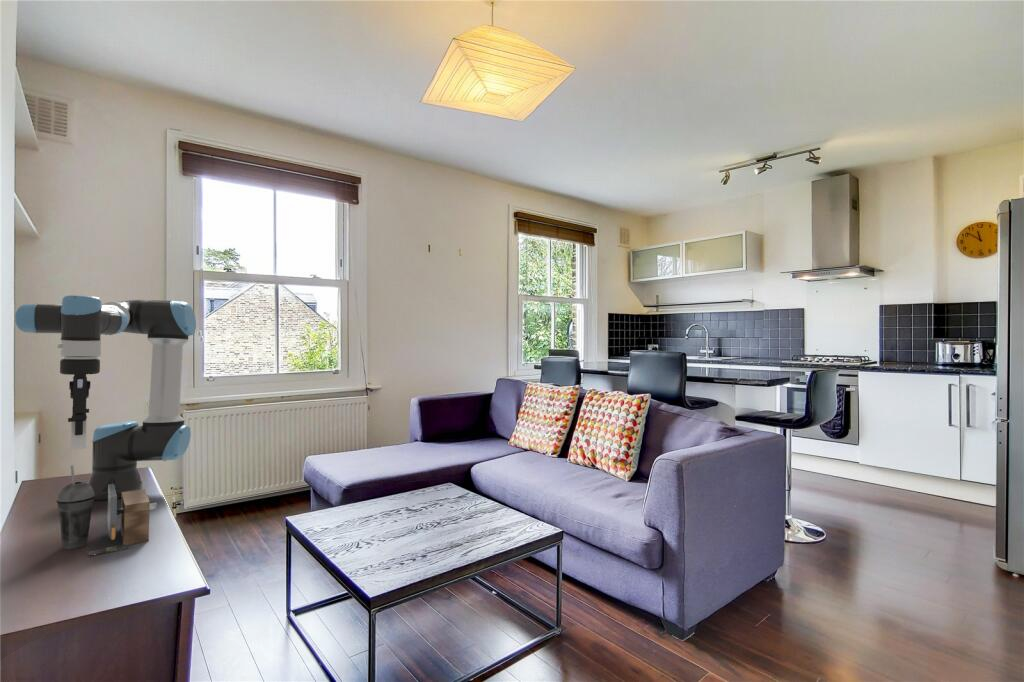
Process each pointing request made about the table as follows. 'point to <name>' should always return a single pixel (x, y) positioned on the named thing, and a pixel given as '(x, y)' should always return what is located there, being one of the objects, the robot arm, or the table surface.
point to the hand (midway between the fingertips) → (78, 443)
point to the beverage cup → (75, 513)
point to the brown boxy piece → (132, 520)
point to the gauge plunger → (116, 510)
